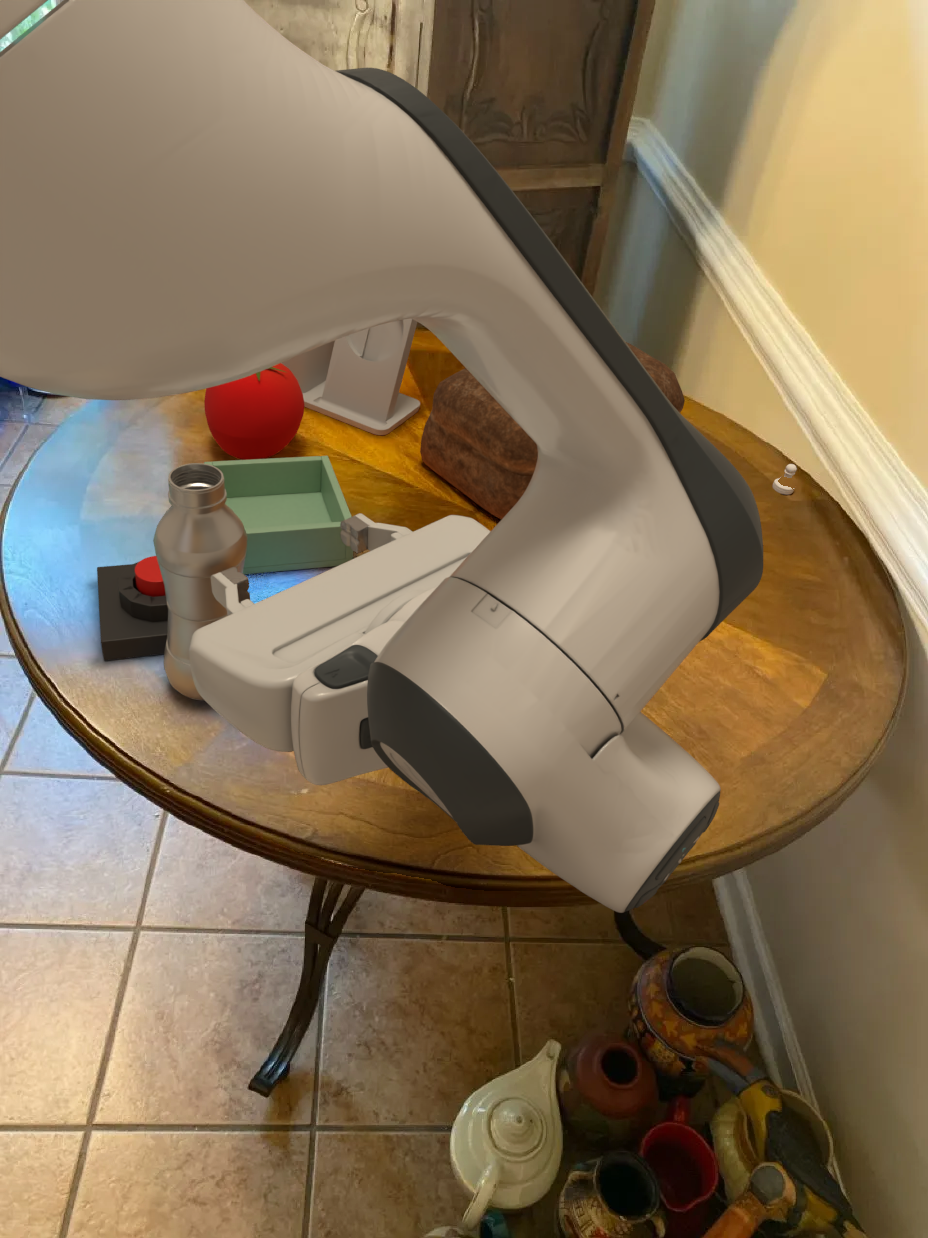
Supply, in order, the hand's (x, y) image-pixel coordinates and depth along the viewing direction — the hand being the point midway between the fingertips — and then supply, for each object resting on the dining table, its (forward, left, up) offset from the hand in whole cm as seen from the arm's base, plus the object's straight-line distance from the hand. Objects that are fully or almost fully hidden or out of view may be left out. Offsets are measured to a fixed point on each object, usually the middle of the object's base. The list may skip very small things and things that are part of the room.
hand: (288, 551), depth 56 cm
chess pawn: (+67, +31, -21) cm, 76 cm away
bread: (+38, +40, -21) cm, 60 cm away
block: (-8, +19, -21) cm, 30 cm away
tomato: (+4, +46, -21) cm, 51 cm away
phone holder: (+17, +57, -21) cm, 64 cm away
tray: (+4, +30, -21) cm, 37 cm away
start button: (-8, +19, -17) cm, 27 cm away
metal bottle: (-5, +10, -21) cm, 24 cm away
